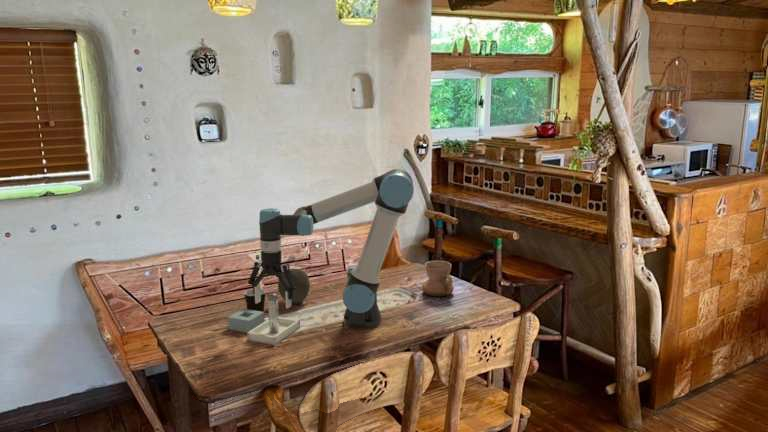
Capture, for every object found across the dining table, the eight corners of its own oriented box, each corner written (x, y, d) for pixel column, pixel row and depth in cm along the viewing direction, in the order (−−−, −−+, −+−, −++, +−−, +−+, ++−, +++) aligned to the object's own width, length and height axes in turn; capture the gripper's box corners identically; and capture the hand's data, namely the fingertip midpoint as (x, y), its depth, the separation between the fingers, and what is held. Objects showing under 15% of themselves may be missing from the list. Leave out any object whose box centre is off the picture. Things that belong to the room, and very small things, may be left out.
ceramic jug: (414, 291, 275) (414, 261, 272) (439, 285, 282) (440, 257, 279) (436, 303, 260) (437, 272, 257) (463, 297, 267) (463, 267, 264)
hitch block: (264, 323, 236) (264, 312, 235) (250, 333, 227) (249, 320, 226) (243, 320, 240) (243, 308, 239) (228, 329, 231) (227, 317, 230)
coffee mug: (261, 319, 240) (260, 296, 238) (241, 318, 242) (240, 295, 240) (272, 309, 251) (271, 287, 249) (253, 308, 253) (252, 286, 251)
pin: (281, 330, 227) (279, 293, 224) (275, 334, 224) (274, 296, 221) (273, 329, 228) (271, 292, 225) (267, 332, 225) (265, 295, 222)
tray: (300, 327, 232) (299, 320, 231) (274, 345, 216) (274, 337, 215) (274, 323, 236) (273, 316, 236) (247, 340, 220) (246, 332, 220)
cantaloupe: (316, 303, 258) (315, 270, 255) (286, 310, 250) (285, 276, 247) (301, 295, 270) (300, 263, 267) (273, 301, 262) (271, 268, 259)
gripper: (236, 249, 221) (239, 303, 225) (294, 256, 211) (296, 312, 216) (248, 244, 227) (251, 297, 232) (305, 251, 218) (307, 305, 222)
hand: (273, 304), depth 224 cm, fingers open, 13 cm apart
